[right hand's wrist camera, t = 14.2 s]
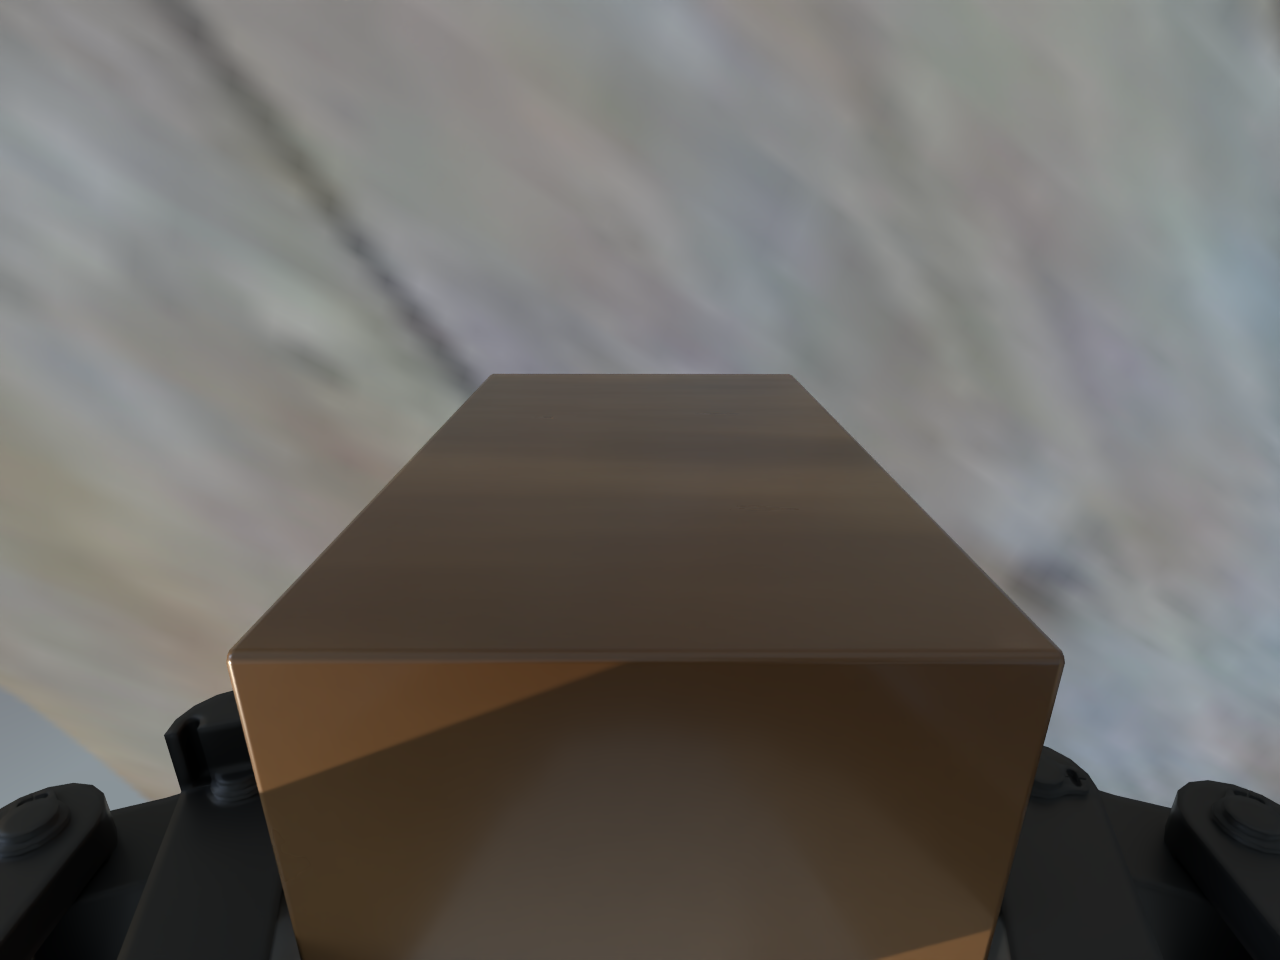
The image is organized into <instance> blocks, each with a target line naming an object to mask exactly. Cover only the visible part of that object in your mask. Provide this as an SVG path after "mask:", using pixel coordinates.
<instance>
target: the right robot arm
mask: <svg viewBox="0 0 1280 960" xmlns="http://www.w3.org/2000/svg"><path fill="white" fill-rule="evenodd" d="M164 737H165V740H166V743H167V746H168V750H169V753H170V756H171V759H172V762H173V766H174V769H175V772H176V775H177V779H178V782H179V785H180V788H181V793H180V794H177V795H174V796H171V797H167V798H163V799H159V800H155V801H150V802H146V803H142V804H138V805H133V806H129V807H125V808H120V809H116V810H112V811H110V809H109V807H108V804H107V801H106V798H105V796H104V793H103V792H101V791H100V790H99V789H97V788H96V787H95V786H93V785H87V784H78V783H70V784H65V785H59V786H53V787H48V788H45V789H42V790H40V791H37V792H34V793H31V794H29V795H26V796H24V797H21V798H19V799H17V800H15V801H13V802H12V803H10V804H8V805H6V806H5V807H3V808H1V809H0V960H301V959H300V955H299V951H298V947H297V943H296V939H295V935H294V931H293V927H292V923H291V919H290V915H289V911H288V907H287V903H286V899H285V895H284V891H283V887H282V883H281V879H280V875H279V871H278V867H277V863H276V859H275V855H274V851H273V847H272V843H271V839H270V835H269V831H268V827H267V823H266V819H265V815H264V811H263V807H262V803H261V799H260V795H259V791H258V787H257V783H256V779H255V775H254V771H253V767H252V763H251V759H250V755H249V751H248V747H247V743H246V739H245V735H244V731H243V727H242V723H241V719H240V715H239V711H238V707H237V703H236V699H235V696H234V692H233V691H230V692H226V693H222V694H219V695H216V696H214V697H212V698H210V699H208V700H206V701H203V702H201V703H199V704H197V705H195V706H193V707H192V708H191V709H189V710H188V711H187V712H185V713H184V714H183V715H181V716H180V717H179V718H177V719H176V720H175V721H174V723H173V724H172V725H171V727H170V728H169V729H168V731H167V732H166V733H165V735H164ZM987 960H1280V805H1279V804H1277V803H1275V802H1274V801H1272V800H1270V799H1268V798H1266V797H1265V796H1263V795H1260V794H1258V793H1255V792H1253V791H1250V790H1247V789H1244V788H1241V787H1239V786H1236V785H1233V784H1227V783H1221V782H1216V781H1210V780H1206V781H1196V782H1189V783H1187V784H1186V785H1185V786H1183V787H1182V788H1181V789H1179V790H1178V792H1177V795H1176V797H1175V800H1174V803H1173V806H1172V808H1168V807H1164V806H1159V805H1155V804H1151V803H1146V802H1142V801H1138V800H1133V799H1129V798H1125V797H1121V796H1116V795H1113V794H1109V793H1106V792H1103V791H1099V790H1098V789H1097V787H1096V785H1095V784H1094V782H1093V781H1092V779H1091V778H1090V776H1089V775H1088V774H1087V773H1086V772H1085V771H1084V770H1083V769H1081V768H1080V767H1079V766H1078V765H1077V764H1076V763H1074V762H1073V761H1072V760H1071V759H1069V758H1067V757H1066V756H1064V755H1062V754H1060V753H1058V752H1056V751H1054V750H1052V749H1051V748H1049V747H1046V746H1043V748H1042V752H1041V756H1040V760H1039V764H1038V767H1037V771H1036V775H1035V779H1034V783H1033V787H1032V790H1031V794H1030V798H1029V802H1028V806H1027V810H1026V813H1025V817H1024V821H1023V825H1022V829H1021V832H1020V836H1019V840H1018V844H1017V848H1016V852H1015V855H1014V859H1013V863H1012V867H1011V871H1010V874H1009V878H1008V882H1007V886H1006V890H1005V894H1004V897H1003V901H1002V905H1001V909H1000V913H999V917H998V920H997V924H996V928H995V932H994V936H993V939H992V943H991V947H990V951H989V955H988V959H987Z"/></svg>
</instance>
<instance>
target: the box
mask: <svg viewBox="0 0 1280 960" xmlns="http://www.w3.org/2000/svg"><path fill="white" fill-rule="evenodd" d="M226 664H227V668H228V672H229V676H230V680H231V684H232V688H233V692H234V696H235V699H236V703H237V707H238V711H239V715H240V719H241V723H242V727H243V731H244V735H245V739H246V743H247V747H248V751H249V755H250V759H251V763H252V767H253V771H254V775H255V779H256V783H257V787H258V791H259V795H260V799H261V803H262V807H263V811H264V815H265V819H266V823H267V827H268V831H269V835H270V839H271V843H272V847H273V851H274V855H275V859H276V863H277V867H278V871H279V875H280V879H281V883H282V887H283V891H284V895H285V899H286V903H287V907H288V911H289V915H290V919H291V923H292V927H293V931H294V935H295V939H296V943H297V947H298V951H299V955H300V959H301V960H987V959H988V955H989V951H990V947H991V943H992V939H993V936H994V932H995V928H996V924H997V920H998V917H999V913H1000V909H1001V905H1002V901H1003V897H1004V894H1005V890H1006V886H1007V882H1008V878H1009V874H1010V871H1011V867H1012V863H1013V859H1014V855H1015V852H1016V848H1017V844H1018V840H1019V836H1020V832H1021V829H1022V825H1023V821H1024V817H1025V813H1026V810H1027V806H1028V802H1029V798H1030V794H1031V790H1032V787H1033V783H1034V779H1035V775H1036V771H1037V767H1038V764H1039V760H1040V756H1041V752H1042V748H1043V745H1044V741H1045V737H1046V733H1047V729H1048V725H1049V722H1050V718H1051V714H1052V710H1053V706H1054V703H1055V699H1056V695H1057V691H1058V687H1059V683H1060V680H1061V676H1062V672H1063V668H1064V664H1065V661H1064V655H1063V653H1062V651H1061V650H1060V649H1059V648H1058V647H1057V646H1056V645H1055V644H1054V642H1053V641H1052V640H1051V639H1050V638H1049V637H1048V636H1047V635H1046V634H1045V633H1044V632H1043V631H1042V630H1041V629H1040V628H1039V627H1038V626H1037V625H1036V624H1035V623H1034V622H1033V621H1032V620H1031V619H1030V618H1029V617H1028V616H1027V615H1026V614H1025V613H1024V612H1023V611H1022V610H1021V609H1020V608H1019V607H1018V606H1017V605H1016V604H1015V603H1014V602H1013V601H1012V600H1011V599H1010V598H1009V597H1008V596H1007V594H1006V593H1005V592H1004V591H1003V590H1002V589H1001V588H1000V587H999V586H998V585H997V584H996V583H995V582H994V581H993V580H992V579H991V578H990V577H989V576H988V575H987V574H986V573H985V572H984V571H983V570H982V569H981V568H980V567H979V566H978V565H977V564H976V563H975V562H974V561H973V560H972V559H971V558H970V557H969V556H968V555H967V554H966V553H965V552H964V551H963V550H962V549H961V548H960V547H959V545H958V544H957V543H956V542H955V541H954V540H953V539H952V538H951V537H950V536H949V535H948V534H947V533H946V532H945V531H944V530H943V529H942V528H941V527H940V526H939V525H938V524H937V523H936V522H935V521H934V520H933V519H932V518H931V517H930V516H929V515H928V514H927V513H926V512H925V511H924V510H923V509H922V508H921V507H920V506H919V505H918V504H917V503H916V502H915V501H914V500H913V499H912V497H911V496H910V495H909V494H908V493H907V492H906V491H905V490H904V489H903V488H902V487H901V486H900V485H899V484H898V483H897V482H896V481H895V480H894V479H893V478H892V477H891V476H890V475H889V474H888V473H887V472H886V471H885V470H884V469H883V468H882V467H881V466H880V465H879V464H878V463H877V462H876V461H875V460H874V459H873V458H872V457H871V456H870V455H869V454H868V453H867V452H866V451H865V449H864V448H863V447H862V446H861V445H860V444H859V443H858V442H857V441H856V440H855V439H854V438H853V437H852V436H851V435H850V434H849V433H848V432H847V431H846V430H845V429H844V428H843V427H842V426H841V425H840V424H839V423H838V422H837V421H836V420H835V419H834V418H833V417H832V416H831V415H830V414H829V413H828V412H827V411H826V410H825V409H824V408H823V407H822V406H821V405H820V404H819V403H818V402H817V400H816V399H815V398H814V397H813V396H812V395H811V394H810V393H809V392H808V391H807V390H806V389H805V388H804V387H803V386H802V385H801V384H800V383H799V382H798V381H797V380H796V379H795V378H794V377H793V376H792V375H790V374H492V375H490V376H489V377H488V378H487V379H486V381H485V382H484V383H483V384H482V385H481V386H480V387H479V388H478V389H477V390H476V391H475V392H474V393H473V394H472V395H471V396H470V397H469V398H468V400H467V401H466V402H465V403H464V404H463V405H462V406H461V407H460V408H459V409H458V410H457V411H456V412H455V413H454V414H453V415H452V416H451V417H450V418H449V420H448V421H447V422H446V423H445V424H444V425H443V426H442V427H441V428H440V429H439V430H438V431H437V432H436V433H435V434H434V435H433V436H432V437H431V439H430V440H429V441H428V442H427V443H426V444H425V445H424V446H423V447H422V448H421V449H420V450H419V451H418V452H417V453H416V454H415V455H414V456H413V457H412V459H411V460H410V461H409V462H408V463H407V464H406V465H405V466H404V467H403V468H402V469H401V470H400V471H399V472H398V473H397V474H396V475H395V476H394V478H393V479H392V480H391V481H390V482H389V483H388V484H387V485H386V486H385V487H384V488H383V489H382V490H381V491H380V492H379V493H378V494H377V495H376V496H375V498H374V499H373V500H372V501H371V502H370V503H369V504H368V505H367V506H366V507H365V508H364V509H363V510H362V511H361V512H360V513H359V514H358V515H357V516H356V518H355V519H354V520H353V521H352V522H351V523H350V524H349V525H348V526H347V527H346V528H345V529H344V530H343V531H342V532H341V533H340V534H339V535H338V537H337V538H336V539H335V540H334V541H333V542H332V543H331V544H330V545H329V546H328V547H327V548H326V549H325V550H324V551H323V552H322V553H321V554H320V555H319V557H318V558H317V559H316V560H315V561H314V562H313V563H312V564H311V565H310V566H309V567H308V568H307V569H306V570H305V571H304V572H303V573H302V574H301V576H300V577H299V578H298V579H297V580H296V581H295V582H294V583H293V584H292V585H291V586H290V587H289V588H288V589H287V590H286V591H285V592H284V593H283V594H282V596H281V597H280V598H279V599H278V600H277V601H276V602H275V603H274V604H273V605H272V606H271V607H270V608H269V609H268V610H267V611H266V612H265V613H264V615H263V616H262V617H261V618H260V619H259V620H258V621H257V622H256V623H255V624H254V625H253V626H252V627H251V628H250V629H249V630H248V631H247V632H246V633H245V635H244V636H243V637H242V638H241V639H240V640H239V641H238V642H237V643H236V644H235V645H234V646H233V647H232V648H231V649H230V650H229V653H228V655H227V661H226Z"/></svg>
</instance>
